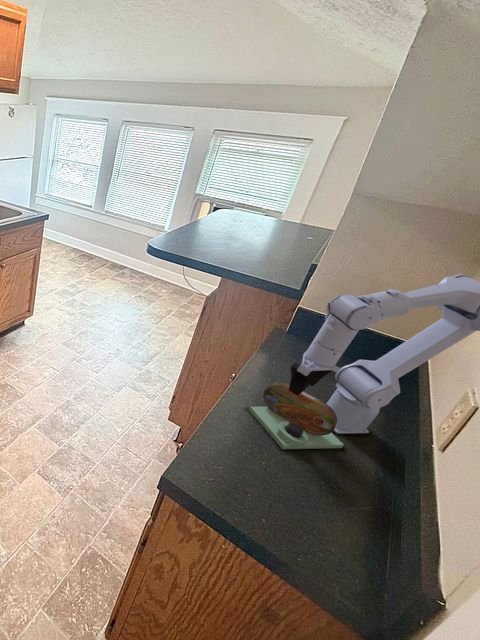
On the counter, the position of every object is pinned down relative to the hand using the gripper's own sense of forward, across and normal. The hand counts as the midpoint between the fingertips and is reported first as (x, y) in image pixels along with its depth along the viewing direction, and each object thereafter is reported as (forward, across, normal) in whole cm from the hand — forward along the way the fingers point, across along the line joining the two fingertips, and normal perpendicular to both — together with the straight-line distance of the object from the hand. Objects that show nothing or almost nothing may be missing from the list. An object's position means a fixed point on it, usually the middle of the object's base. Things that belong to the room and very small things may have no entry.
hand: (300, 387), depth 94 cm
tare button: (+8, -7, -5) cm, 11 cm away
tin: (+9, 0, -2) cm, 10 cm away
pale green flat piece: (+10, -1, -3) cm, 11 cm away
